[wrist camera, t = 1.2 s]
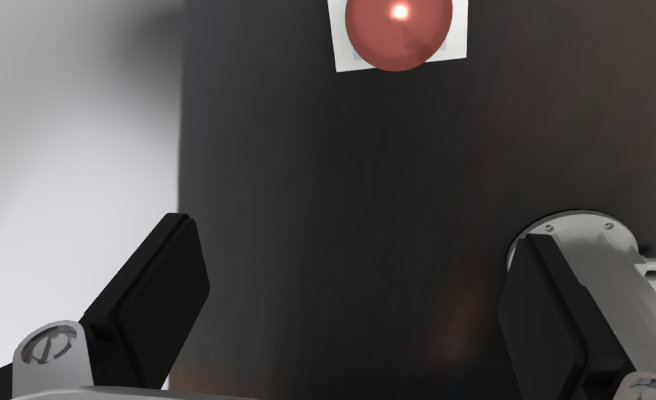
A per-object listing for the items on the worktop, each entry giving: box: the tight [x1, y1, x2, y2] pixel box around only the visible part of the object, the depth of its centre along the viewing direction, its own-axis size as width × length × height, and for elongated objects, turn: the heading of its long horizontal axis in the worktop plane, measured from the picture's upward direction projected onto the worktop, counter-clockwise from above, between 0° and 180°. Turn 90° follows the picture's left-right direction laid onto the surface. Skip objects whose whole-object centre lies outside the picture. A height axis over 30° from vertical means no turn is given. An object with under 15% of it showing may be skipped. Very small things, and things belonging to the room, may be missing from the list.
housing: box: [328, 0, 468, 72], centre depth 30 cm, size 10×9×8 cm
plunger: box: [345, 0, 453, 71], centre depth 24 cm, size 6×6×6 cm
